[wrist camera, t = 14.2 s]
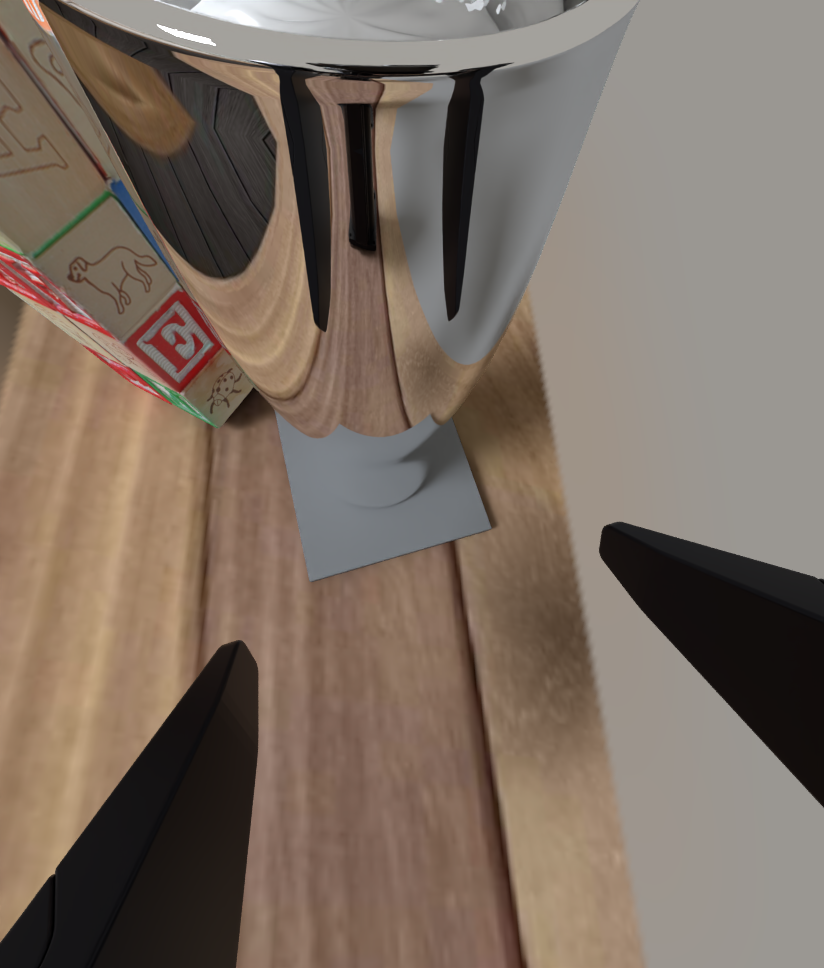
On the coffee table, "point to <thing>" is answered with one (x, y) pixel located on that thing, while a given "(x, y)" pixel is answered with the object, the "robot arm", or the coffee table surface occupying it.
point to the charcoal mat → (380, 509)
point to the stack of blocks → (93, 240)
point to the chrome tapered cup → (346, 188)
